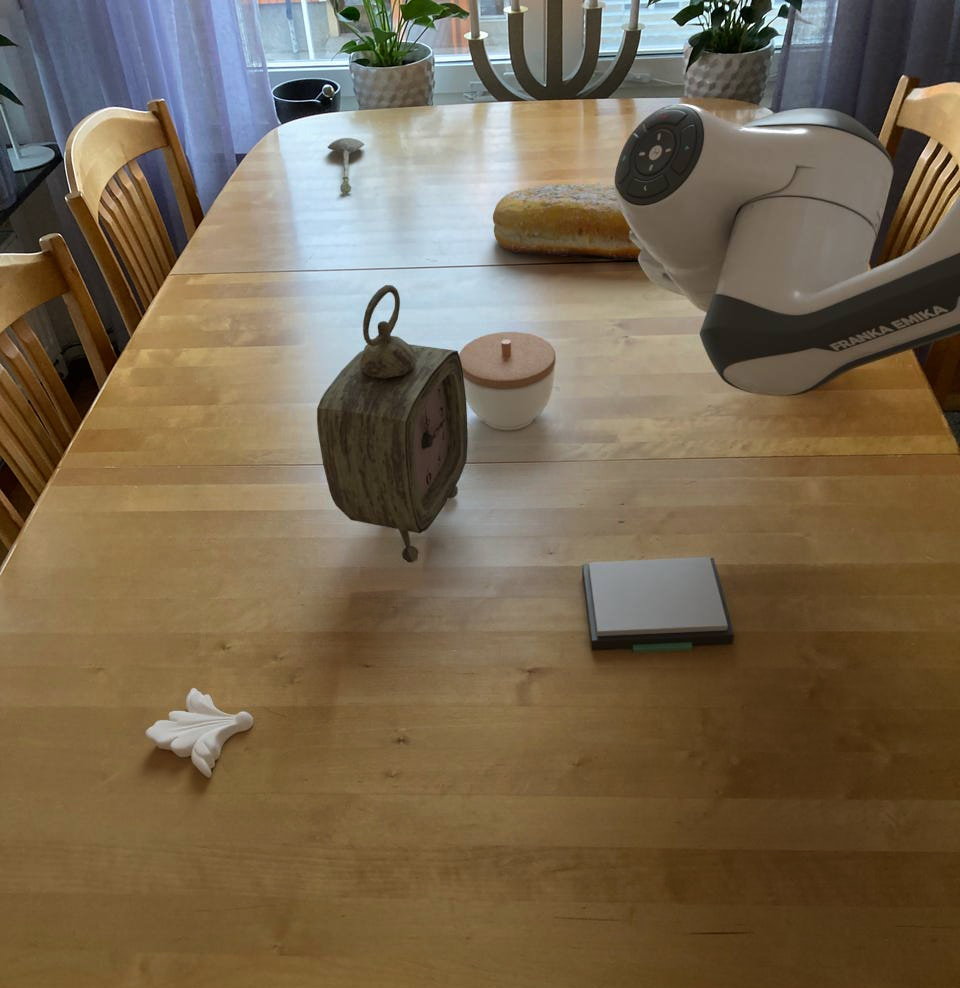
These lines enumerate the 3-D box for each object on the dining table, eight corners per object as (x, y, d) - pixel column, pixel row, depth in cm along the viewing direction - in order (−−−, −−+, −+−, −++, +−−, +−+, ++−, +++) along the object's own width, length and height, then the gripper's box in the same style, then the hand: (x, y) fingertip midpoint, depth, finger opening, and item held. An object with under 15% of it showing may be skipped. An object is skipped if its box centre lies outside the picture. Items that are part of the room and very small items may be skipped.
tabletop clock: (420, 577, 96) (388, 339, 79) (336, 559, 99) (287, 325, 81) (473, 489, 106) (455, 259, 88) (395, 476, 108) (362, 249, 91)
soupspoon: (366, 149, 181) (330, 153, 181) (363, 129, 179) (326, 133, 179) (365, 191, 165) (326, 196, 165) (361, 169, 163) (321, 175, 163)
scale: (710, 582, 94) (714, 552, 91) (730, 663, 86) (736, 633, 84) (581, 588, 94) (582, 558, 91) (591, 669, 87) (592, 640, 84)
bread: (669, 271, 139) (674, 213, 133) (484, 261, 144) (481, 205, 138) (678, 230, 148) (683, 175, 142) (504, 223, 153) (501, 169, 148)
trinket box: (506, 453, 110) (502, 378, 103) (443, 416, 116) (436, 342, 109) (575, 415, 115) (576, 340, 108) (512, 381, 121) (509, 308, 114)
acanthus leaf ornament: (210, 781, 80) (203, 767, 79) (141, 756, 83) (134, 741, 81) (261, 714, 85) (256, 700, 84) (195, 692, 87) (189, 677, 86)
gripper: (605, 258, 87) (662, 319, 99) (820, 326, 77) (855, 385, 88) (638, 189, 86) (692, 258, 98) (861, 248, 76) (890, 318, 87)
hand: (771, 319), depth 93 cm, fingers closed on tumbler, 6 cm apart
